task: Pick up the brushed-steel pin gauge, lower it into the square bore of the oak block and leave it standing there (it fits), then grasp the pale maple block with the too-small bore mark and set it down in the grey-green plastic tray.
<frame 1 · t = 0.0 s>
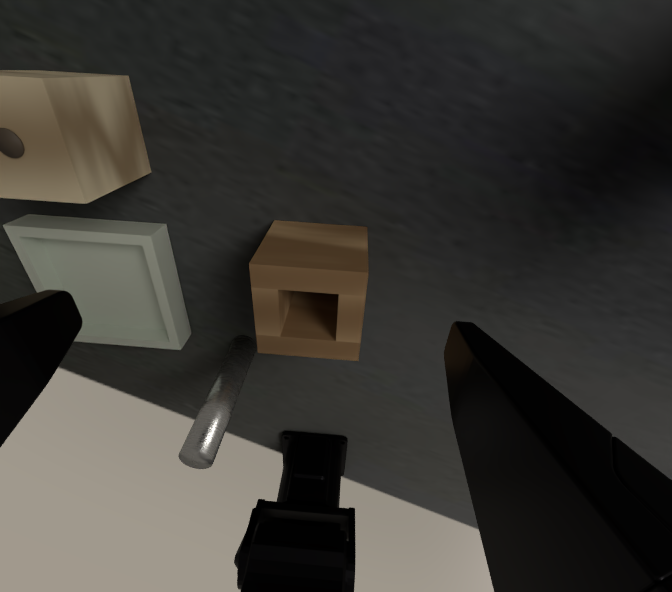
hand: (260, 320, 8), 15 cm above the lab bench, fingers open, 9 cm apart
bored oak block: (319, 264, 24), on the lab bench
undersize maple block: (98, 124, 20), on the lab bench
tray: (117, 279, 26), on the lab bench
steel pin gauge: (244, 344, 28), on the lab bench
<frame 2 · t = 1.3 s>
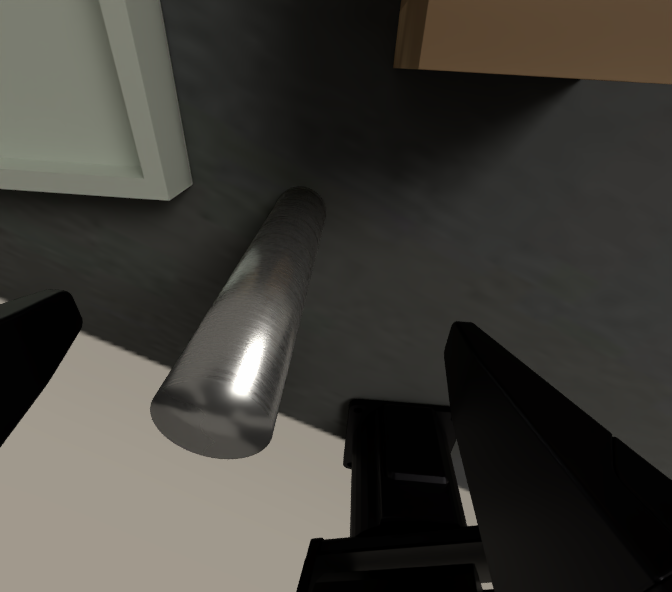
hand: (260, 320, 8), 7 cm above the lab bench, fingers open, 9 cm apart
tray: (22, 27, 11), on the lab bench
steel pin gauge: (301, 211, 14), on the lab bench
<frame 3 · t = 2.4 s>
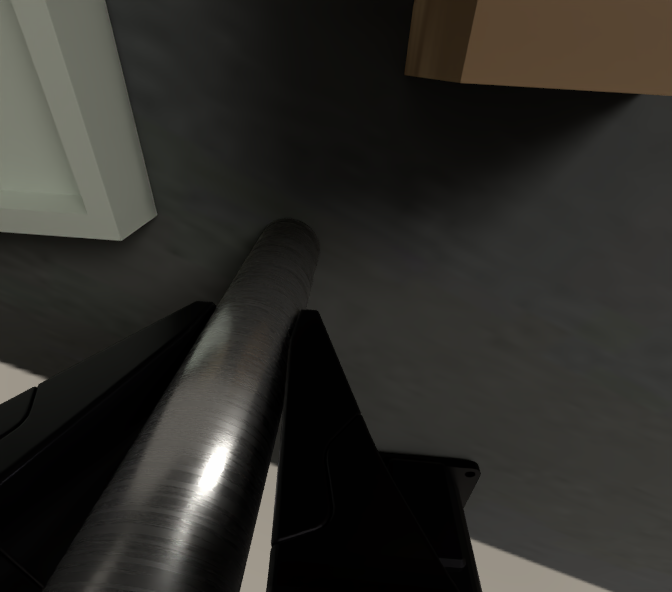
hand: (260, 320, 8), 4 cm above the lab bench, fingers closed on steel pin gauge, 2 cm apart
steel pin gauge: (289, 247, 12), on the lab bench, touching gripper
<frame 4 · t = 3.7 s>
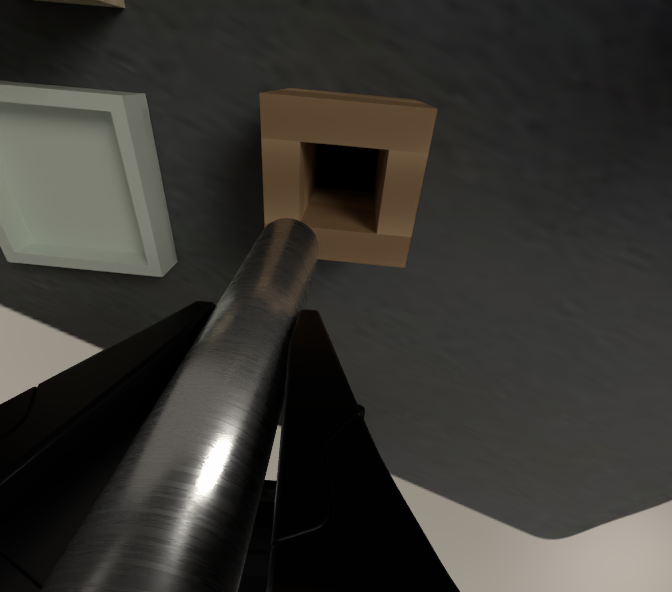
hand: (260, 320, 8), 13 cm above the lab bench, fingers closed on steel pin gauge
bored oak block: (346, 159, 18), on the lab bench
tray: (82, 180, 20), on the lab bench
steel pin gauge: (289, 246, 11), point 9 cm above the lab bench, touching gripper
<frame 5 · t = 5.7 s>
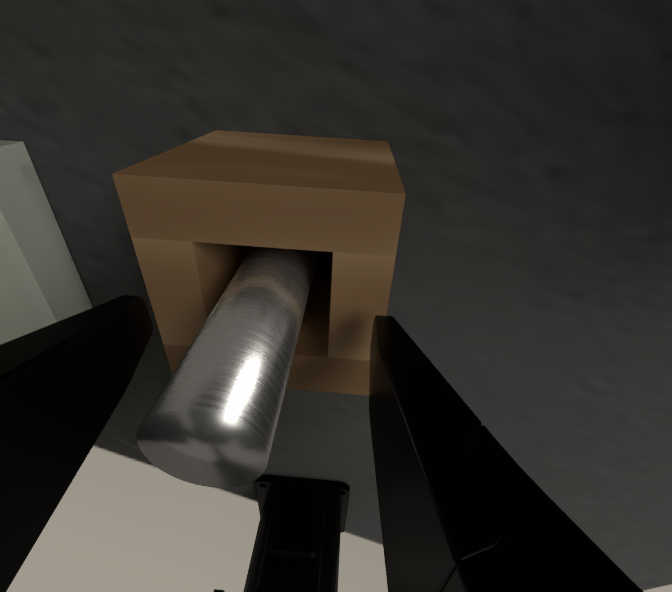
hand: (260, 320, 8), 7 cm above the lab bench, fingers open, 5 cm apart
bored oak block: (301, 218, 14), on the lab bench
steel pin gauge: (301, 218, 14), resting in bored oak block
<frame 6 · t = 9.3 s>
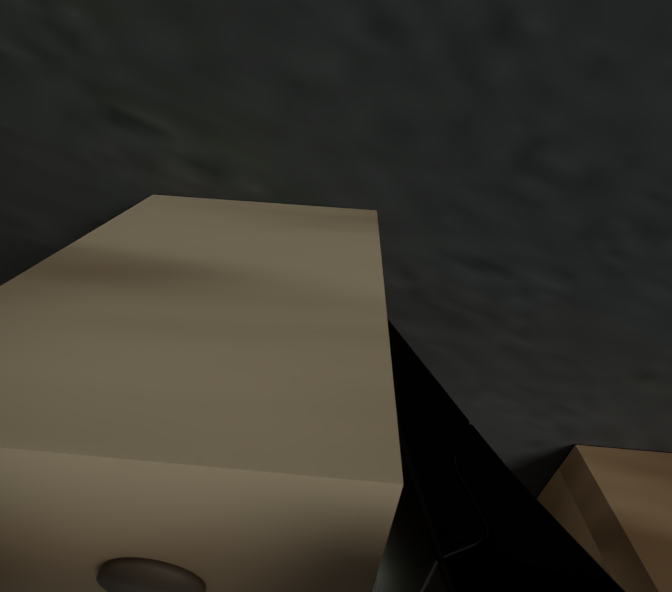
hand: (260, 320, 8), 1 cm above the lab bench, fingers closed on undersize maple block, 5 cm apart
bored oak block: (621, 499, 13), on the lab bench
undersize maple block: (270, 296, 9), on the lab bench, touching gripper
when the fingers open (3 cm above the lab bench, at t = 13.0 s): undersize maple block drops 2 cm, resting on tray.
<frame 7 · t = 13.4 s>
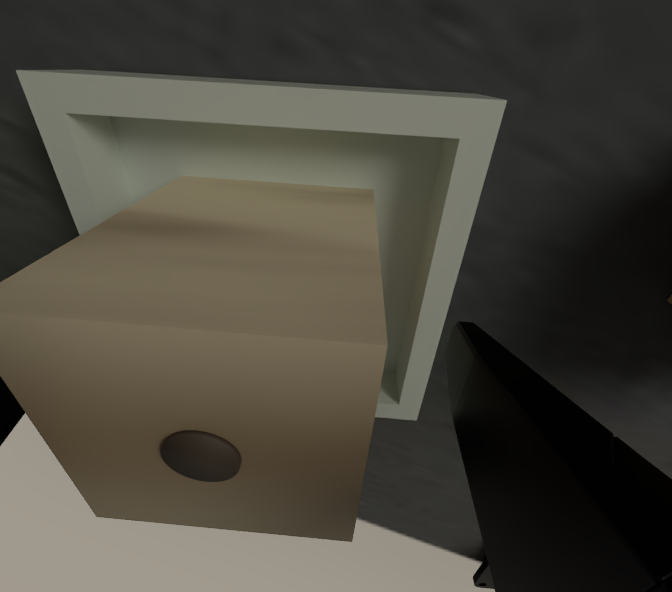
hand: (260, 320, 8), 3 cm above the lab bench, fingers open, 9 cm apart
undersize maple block: (280, 267, 10), point 1 cm above the lab bench, touching tray
tray: (284, 258, 11), on the lab bench
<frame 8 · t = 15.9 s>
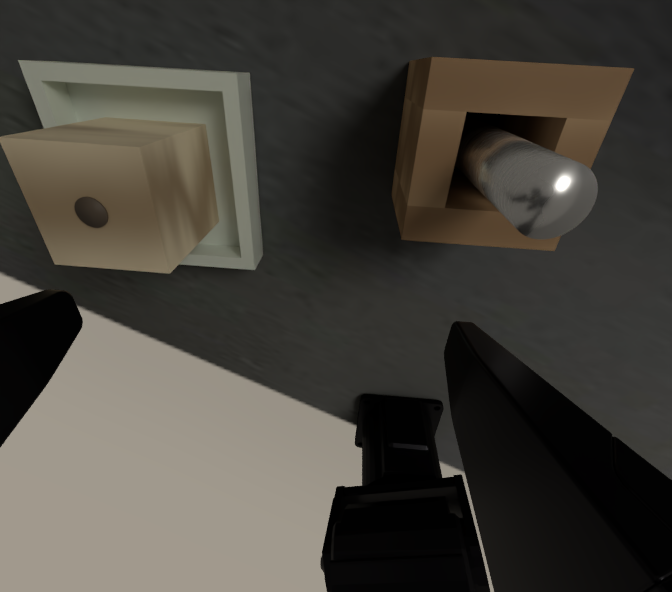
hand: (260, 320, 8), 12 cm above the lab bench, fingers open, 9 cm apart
bored oak block: (460, 138, 17), on the lab bench
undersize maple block: (166, 173, 18), point 1 cm above the lab bench, touching tray
tray: (172, 170, 19), on the lab bench
steel pin gauge: (460, 137, 17), resting in bored oak block
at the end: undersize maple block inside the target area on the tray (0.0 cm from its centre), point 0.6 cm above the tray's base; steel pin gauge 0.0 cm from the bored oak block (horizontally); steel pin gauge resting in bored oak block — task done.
